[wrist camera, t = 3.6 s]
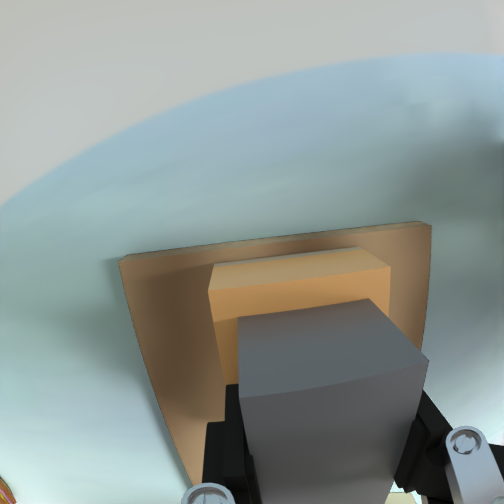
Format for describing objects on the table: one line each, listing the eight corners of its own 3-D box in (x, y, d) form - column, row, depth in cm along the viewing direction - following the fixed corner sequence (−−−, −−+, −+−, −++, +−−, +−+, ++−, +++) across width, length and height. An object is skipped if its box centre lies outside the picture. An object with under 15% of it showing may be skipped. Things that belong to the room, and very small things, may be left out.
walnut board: (418, 221, 14) (432, 225, 13) (377, 485, 19) (381, 495, 18) (127, 254, 14) (117, 262, 13) (211, 510, 19) (211, 522, 18)
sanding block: (359, 246, 13) (461, 315, 6) (352, 408, 15) (397, 508, 8) (214, 263, 13) (191, 363, 6) (242, 426, 15) (246, 538, 8)
